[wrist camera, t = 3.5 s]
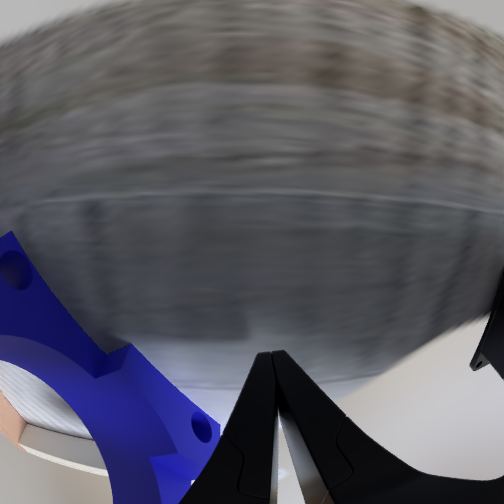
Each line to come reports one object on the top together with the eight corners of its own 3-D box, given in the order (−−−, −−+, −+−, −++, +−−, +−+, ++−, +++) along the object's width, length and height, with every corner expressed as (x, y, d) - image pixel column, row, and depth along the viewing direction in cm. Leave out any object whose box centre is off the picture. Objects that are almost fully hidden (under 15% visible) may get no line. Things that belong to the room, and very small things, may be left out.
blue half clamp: (220, 422, 12) (220, 536, 6) (152, 438, 12) (137, 532, 7) (33, 206, 7) (-100, 292, 2) (-13, 265, 8) (-99, 345, 2)
